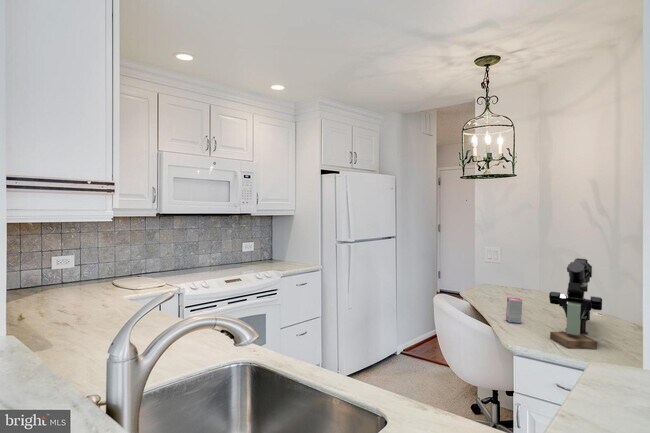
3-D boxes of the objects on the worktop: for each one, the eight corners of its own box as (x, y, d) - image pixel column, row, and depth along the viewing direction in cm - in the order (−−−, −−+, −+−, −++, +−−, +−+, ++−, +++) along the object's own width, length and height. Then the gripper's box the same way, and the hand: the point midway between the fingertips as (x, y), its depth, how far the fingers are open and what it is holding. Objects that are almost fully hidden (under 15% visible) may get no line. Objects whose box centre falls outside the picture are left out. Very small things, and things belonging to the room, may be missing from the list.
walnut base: (578, 339, 173) (578, 332, 172) (597, 349, 161) (597, 341, 160) (550, 338, 173) (550, 331, 173) (566, 348, 161) (567, 340, 161)
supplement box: (521, 324, 194) (522, 300, 194) (508, 323, 195) (509, 299, 195) (518, 320, 200) (519, 297, 200) (505, 320, 201) (506, 297, 201)
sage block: (567, 330, 170) (568, 302, 169) (579, 332, 167) (581, 303, 167) (566, 333, 166) (567, 304, 166) (579, 335, 163) (580, 305, 163)
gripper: (550, 272, 175) (546, 302, 166) (603, 277, 164) (601, 310, 155) (552, 288, 181) (548, 317, 172) (602, 294, 170) (601, 326, 162)
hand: (573, 317), depth 165 cm, fingers closed on sage block, 4 cm apart
